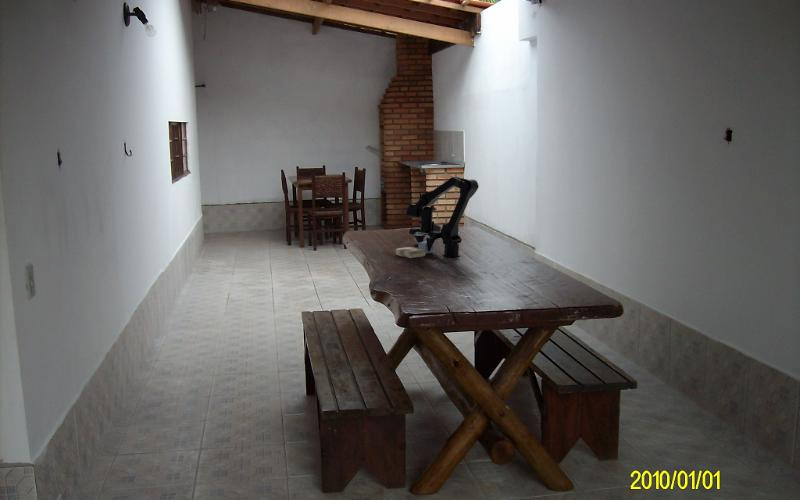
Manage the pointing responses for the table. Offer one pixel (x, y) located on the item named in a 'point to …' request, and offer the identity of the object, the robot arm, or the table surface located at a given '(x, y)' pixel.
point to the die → (424, 238)
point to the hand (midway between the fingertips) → (425, 250)
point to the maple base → (410, 252)
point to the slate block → (424, 247)
